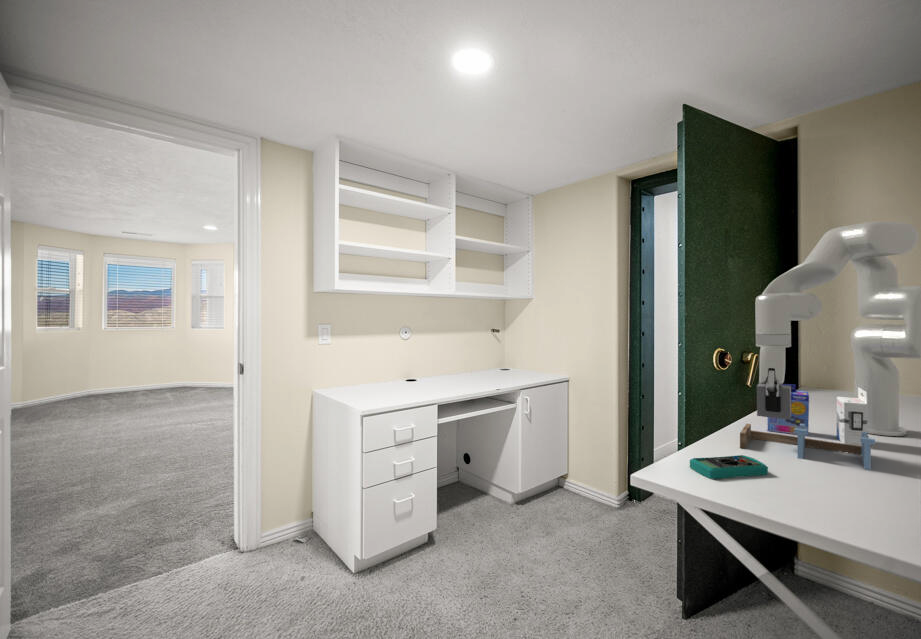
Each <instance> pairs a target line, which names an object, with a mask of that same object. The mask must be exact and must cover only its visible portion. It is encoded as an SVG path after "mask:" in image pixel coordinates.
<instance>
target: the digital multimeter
mask: <svg viewBox="0 0 921 639" xmlns="http://www.w3.org/2000/svg"><path fill="white" fill-rule="evenodd" d="M689 468H690V469H691V470H693V471H695V472H696V473H698V474H700V475H702V476H703V477H706V478H708V479H709V480H719V479H728V478H730V479H731V478H740V477H741V478H743V477H758V476H759V477H761V476H764V477H765V476H768V474H769V466H768V465H766V464H765V463H763V462H762V461H760V460H758V459H756V458H753V457H750V456H748V455H743V454H739V455H729V456H714V457H713V456H712V457H693V458H691V459H689Z"/></svg>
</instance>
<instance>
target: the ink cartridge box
mask: <svg viewBox="0 0 921 639" xmlns="http://www.w3.org/2000/svg"><path fill="white" fill-rule="evenodd" d="M782 385H786V386H791V419H790V420H788V419H780V418H771V417H766V421H767V422H766V423H767V424H766V425H767V427H766V428H767V429H766V430H767V432H774V433H779V434H780V433H781V434H782V433H783V434H789V435H794V436H796V435H797V436H798V434H796V433H794V428H797V429H799V426H800V424H805V430H807V435H805V437H808V436H809V435H810V433H809V421H810V420H809V418H810V417H809V416H810V414H809V413H810V395H809V392H808V391H805V390H797V389H796V388H797V387H796V384H790V383H789V384H788V383H783V384H782Z"/></svg>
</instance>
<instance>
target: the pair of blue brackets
mask: <svg viewBox="0 0 921 639" xmlns="http://www.w3.org/2000/svg"><path fill="white" fill-rule="evenodd" d="M794 433H796V434H798V435H797V437H798V445H797V459H804V455H805V454H804V453H805V449H806V447H805V438H806V436H805V435H807V430H805V424H800V426H799V429H797V428H794ZM860 443H862V444H861V455H862V456H861V455H860V456H861V458H862V460H861V461H862V464H864V465H863V469H864V470H866V471H871V468H872V467H871V465H872V464H871V462H872V461H871V458H872V457H871V454H872V449H871V447H872V446H871V445H876V439H875V438H871V437H869V433H867V432H863V431H862V437H860Z"/></svg>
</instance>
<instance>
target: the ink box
mask: <svg viewBox="0 0 921 639" xmlns="http://www.w3.org/2000/svg"><path fill="white" fill-rule="evenodd" d="M861 393H863V395H864V397H863V396H862V395H861ZM862 431H863V432H867V392H866V391H864V390H862V389H861V388H859V387H858V398H855V397H850V396H849V397H846V396H836V438H837V440H839V441H840V442H841V443H842V444H849V445H856V446H861V444H862V443H860V437H862Z"/></svg>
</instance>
